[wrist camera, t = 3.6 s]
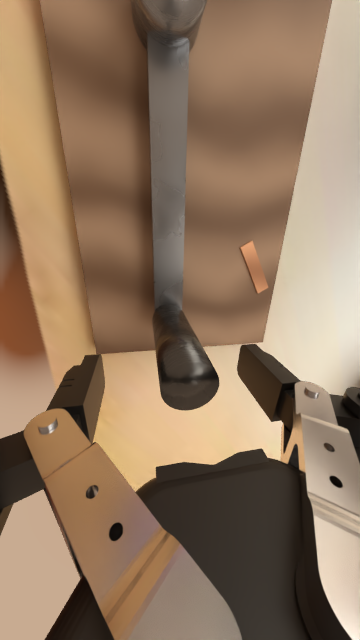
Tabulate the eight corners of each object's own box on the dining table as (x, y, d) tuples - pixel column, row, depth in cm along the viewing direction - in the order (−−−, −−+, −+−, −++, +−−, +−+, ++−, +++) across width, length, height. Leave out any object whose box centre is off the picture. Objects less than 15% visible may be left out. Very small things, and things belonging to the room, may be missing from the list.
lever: (128, -50, 11) (61, -1588, 2) (201, -31, 11) (430, -1054, 2) (146, 330, 19) (151, 414, 10) (187, 328, 20) (225, 405, 11)
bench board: (38, -56, 11) (22, -102, 10) (316, 11, 14) (337, -16, 13) (99, 346, 21) (96, 355, 20) (255, 336, 24) (263, 343, 23)
